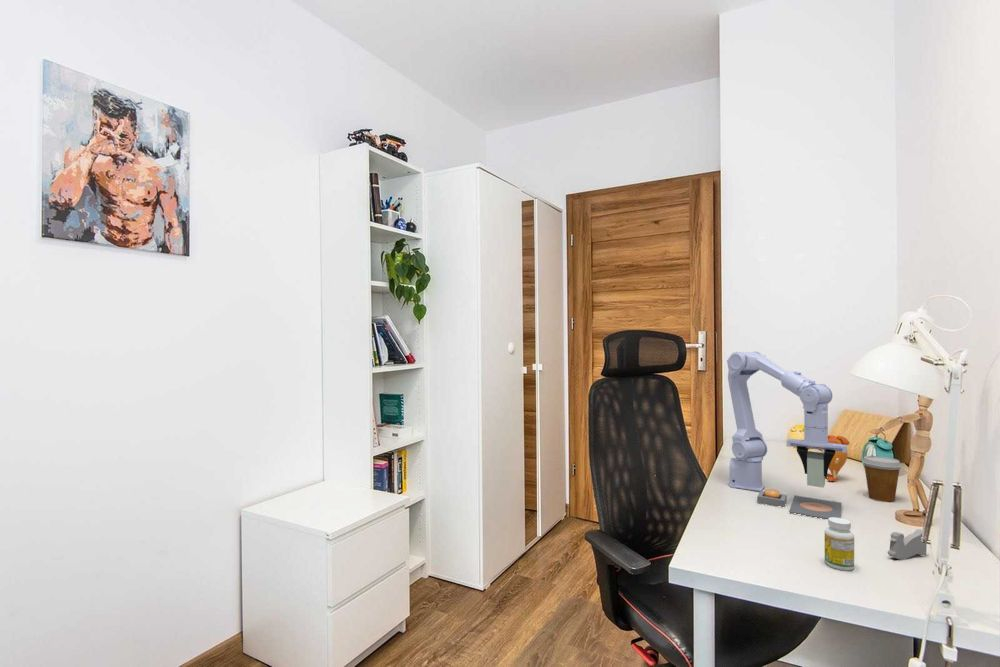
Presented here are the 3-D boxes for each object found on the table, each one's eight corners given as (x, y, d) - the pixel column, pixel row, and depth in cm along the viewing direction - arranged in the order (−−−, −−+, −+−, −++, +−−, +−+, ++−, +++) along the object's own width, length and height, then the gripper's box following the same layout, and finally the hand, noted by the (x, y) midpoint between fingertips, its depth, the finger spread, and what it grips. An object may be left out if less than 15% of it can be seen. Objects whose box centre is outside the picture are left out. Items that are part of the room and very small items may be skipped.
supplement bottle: (852, 573, 105) (852, 527, 105) (822, 565, 109) (822, 520, 109) (855, 564, 109) (855, 520, 110) (826, 557, 113) (826, 514, 113)
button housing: (757, 503, 150) (757, 496, 150) (760, 497, 156) (760, 490, 156) (784, 507, 146) (784, 500, 146) (786, 501, 152) (786, 494, 152)
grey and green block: (807, 485, 145) (807, 453, 145) (808, 482, 148) (808, 451, 149) (823, 487, 143) (823, 455, 143) (824, 484, 146) (824, 453, 146)
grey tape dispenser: (926, 556, 114) (892, 561, 111) (919, 554, 115) (886, 558, 113) (926, 531, 114) (892, 534, 111) (920, 528, 115) (886, 532, 113)
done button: (763, 498, 150) (763, 491, 150) (765, 494, 154) (765, 488, 154) (779, 500, 148) (779, 493, 148) (780, 497, 151) (780, 490, 152)
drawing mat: (788, 513, 142) (788, 511, 142) (794, 496, 156) (794, 494, 156) (840, 522, 135) (840, 520, 135) (841, 503, 150) (841, 502, 150)
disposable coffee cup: (896, 496, 157) (896, 457, 157) (905, 505, 148) (905, 464, 148) (859, 492, 161) (859, 454, 161) (866, 501, 152) (866, 460, 152)
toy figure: (818, 474, 182) (818, 432, 182) (844, 477, 179) (844, 434, 179) (825, 483, 171) (826, 438, 171) (854, 486, 168) (854, 440, 168)
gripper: (847, 427, 145) (847, 475, 145) (788, 422, 153) (788, 467, 153) (846, 431, 139) (846, 481, 139) (785, 425, 148) (785, 472, 148)
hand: (815, 474), depth 146 cm, fingers closed on grey and green block, 4 cm apart
